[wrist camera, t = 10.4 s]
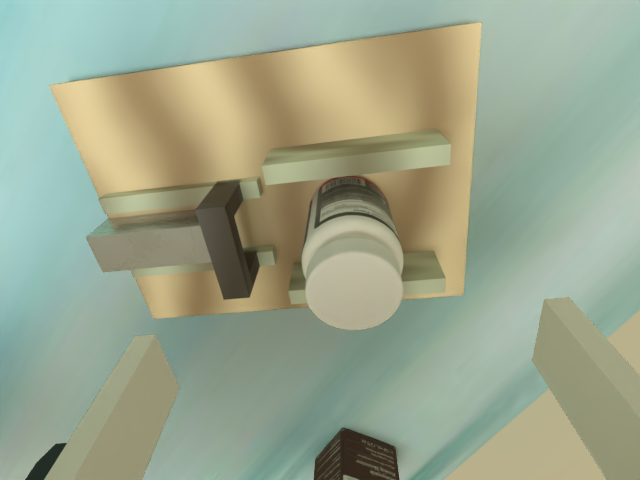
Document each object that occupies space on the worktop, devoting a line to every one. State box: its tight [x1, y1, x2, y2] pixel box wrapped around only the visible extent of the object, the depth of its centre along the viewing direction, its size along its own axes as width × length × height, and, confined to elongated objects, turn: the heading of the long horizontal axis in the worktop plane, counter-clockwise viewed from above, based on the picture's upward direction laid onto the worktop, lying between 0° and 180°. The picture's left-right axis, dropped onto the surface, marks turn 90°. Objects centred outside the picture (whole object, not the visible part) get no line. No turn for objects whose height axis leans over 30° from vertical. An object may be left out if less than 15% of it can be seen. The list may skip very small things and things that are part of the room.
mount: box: [49, 22, 482, 319], centre depth 21 cm, size 22×16×6 cm
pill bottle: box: [301, 175, 404, 330], centre depth 19 cm, size 5×5×8 cm
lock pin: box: [86, 210, 212, 272], centre depth 23 cm, size 7×2×2 cm, turn 98°
